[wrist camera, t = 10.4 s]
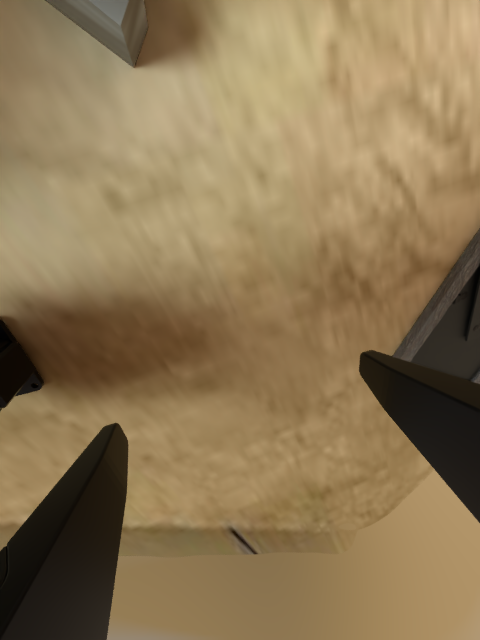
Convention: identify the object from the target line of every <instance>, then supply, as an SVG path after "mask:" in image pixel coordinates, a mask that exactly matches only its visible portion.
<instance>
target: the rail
mask: <svg viewBox="0 0 480 640" xmlns="http://www.w3.org/2000/svg"><path fill="white" fill-rule="evenodd" d="M46 1H47V2H48V3H50V4H51V5H52V6H53V7H55V8H56V9H57V10H59V11H60V12H61V13H63V14H64V15H65V16H67V17H68V18H69V19H71V20H72V21H73V22H74V23H76V24H77V25H78V26H80V27H81V28H82V29H84V30H85V31H86V32H88V33H89V34H90V35H91V36H93V37H94V38H95V39H97V40H98V41H99V42H101V43H102V44H103V45H105V46H106V47H107V48H109V49H110V50H111V51H112V52H114V53H115V54H116V55H118V56H119V57H120V58H122V59H123V60H124V61H126V62H127V63H128V64H129V65H131V66H132V67H133V68H134V66H135V64H136V61H137V58H138V55H139V52H140V49H141V46H142V44H143V41H144V38H145V35H146V32H147V29H148V23H147V17H146V10H145V4H144V0H46Z"/></svg>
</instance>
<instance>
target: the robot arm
mask: <svg viewBox="0 0 480 640" xmlns="http://www.w3.org/2000/svg"><path fill="white" fill-rule="evenodd" d="M359 372H360V375H361V376H362V378H363V379H364V381H365V382H366V384H367V385H368V387H369V388H370V390H371V391H372V393H373V394H374V395H375V397H376V398H377V400H378V401H379V403H380V404H381V406H382V407H383V408H384V410H385V411H386V412H387V413H388V415H389V416H390V417H391V418H392V419H393V421H394V422H395V423H396V424H397V425H398V426H399V428H400V429H401V430H402V431H403V432H404V434H405V435H406V436H407V437H408V438H409V440H410V441H411V442H412V443H413V444H414V445H415V447H416V448H417V449H418V450H419V451H420V453H421V454H422V455H423V456H424V457H425V459H426V460H427V461H428V462H429V463H430V464H431V466H432V467H433V468H434V469H435V470H436V472H437V473H438V474H439V475H440V476H441V478H442V479H443V480H444V481H445V482H446V484H447V485H448V486H449V487H450V488H451V489H452V491H453V492H454V493H455V494H456V495H457V497H458V498H459V499H460V500H461V501H462V502H463V504H464V505H465V506H466V507H467V508H468V510H469V511H470V512H471V513H472V514H473V516H474V517H475V518H476V519H477V520H478V522H479V523H480V384H478V383H475V382H471V381H468V380H465V379H462V378H459V377H456V376H453V375H449V374H446V373H443V372H440V371H437V370H434V369H430V368H427V367H424V366H421V365H418V364H415V363H411V362H408V361H405V360H402V359H399V358H396V357H392V356H389V355H386V354H383V353H380V352H377V351H373V350H369V351H366V352H363V353H361V355H360V365H359ZM34 383H36V384H38V385H35V384H34ZM43 385H44V381H43V379H42V378H41V376H40V375H39V374H38V372H37V371H36V368H35V367H34V365H33V364H32V362H31V361H30V359H29V358H28V356H27V355H26V353H25V352H24V350H23V349H22V347H21V346H20V344H19V343H17V341H16V340H15V338H14V337H13V335H12V334H11V332H10V331H9V329H8V328H7V326H6V325H5V323H4V322H3V321H2V320H1V319H0V411H1V410H2V408H5V407H6V406H7V405H8V404H9V403H10V402H11V400H12V399H13V398H14V397H15V396H18V395H22V394H26V393H30V392H34V391H37V390H40V389H41V388H42V386H43ZM127 473H128V440H127V437H126V436H125V434H124V432H123V430H122V428H121V427H120V425H119V424H118V423H114V424H110V425H107V426H105V427H103V428H102V430H101V431H100V432H99V433H98V434H97V436H96V437H95V438H94V439H93V440H92V442H91V443H90V444H89V445H88V446H87V448H86V449H85V450H84V451H83V453H82V454H81V455H80V456H79V457H78V459H77V460H76V461H75V462H74V463H73V465H72V466H71V467H70V468H69V469H68V471H67V472H66V473H65V474H64V475H63V477H62V478H61V479H60V480H59V481H58V483H57V484H56V485H55V486H54V488H53V489H52V490H51V491H50V492H49V494H48V495H47V496H46V497H45V498H44V500H43V501H42V502H41V503H40V504H39V506H38V507H37V508H36V509H35V510H34V512H33V513H32V514H31V515H30V516H29V518H28V519H27V520H26V521H25V522H24V524H23V525H22V526H21V527H20V529H19V530H18V531H17V532H16V533H15V535H14V536H13V537H12V538H11V539H10V541H9V542H8V543H7V546H5V547H4V548H3V549H2V550H1V551H0V640H106V639H107V633H108V626H109V619H110V618H109V617H110V611H111V604H112V597H113V590H114V582H115V575H116V568H117V561H118V553H119V546H120V539H121V532H122V524H123V517H124V510H125V503H126V494H127Z"/></svg>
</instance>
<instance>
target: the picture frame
mask: <svg viewBox="0 0 480 640" xmlns="http://www.w3.org/2000/svg"><path fill="white" fill-rule="evenodd" d="M392 357H396V358H399V359H402V360H405V361H408V362H411V363H415V364H418V365H421V366H424V367H427V368H430V369H434V370H437V371H440V372H443V373H446V374H449V375H453V376H456V377H459V378H462V379H465V380H468V381H471V382H475V383H478V384H480V229H479V230H478V232H477V233H476V234H475V236H474V237H473V239H472V240H471V242H470V243H469V245H468V246H467V248H466V249H465V251H464V252H463V254H462V255H461V256H460V258H459V259H458V261H457V262H456V264H455V265H454V267H453V268H452V270H451V271H450V273H449V274H448V276H447V277H446V278H445V280H444V281H443V283H442V284H441V286H440V287H439V289H438V290H437V292H436V293H435V295H434V296H433V298H432V299H431V300H430V302H429V303H428V305H427V306H426V308H425V309H424V311H423V312H422V314H421V315H420V317H419V318H418V320H417V321H416V322H415V324H414V325H413V327H412V328H411V330H410V331H409V333H408V334H407V336H406V337H405V339H404V340H403V341H402V343H401V344H400V346H399V347H398V349H397V350H396V352H395V353H394V355H393V356H392Z"/></svg>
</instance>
